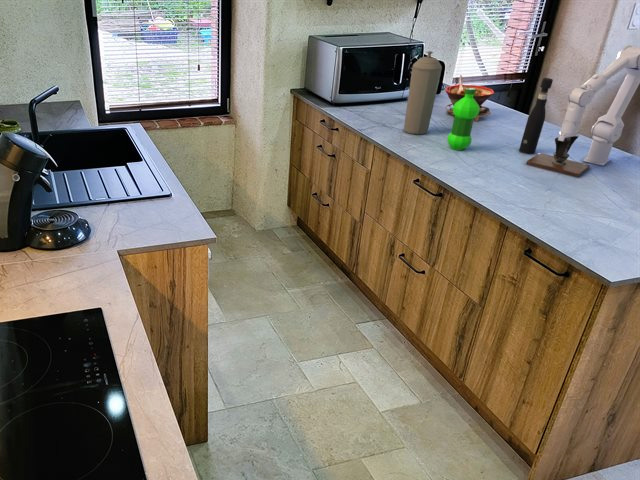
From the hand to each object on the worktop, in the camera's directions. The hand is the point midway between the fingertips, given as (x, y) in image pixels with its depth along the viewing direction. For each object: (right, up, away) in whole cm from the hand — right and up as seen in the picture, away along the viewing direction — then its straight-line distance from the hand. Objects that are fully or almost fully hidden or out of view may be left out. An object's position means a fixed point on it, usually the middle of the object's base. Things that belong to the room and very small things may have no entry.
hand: (561, 154), depth 236 cm
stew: (-14, +37, +66) cm, 77 cm away
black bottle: (-5, +5, +17) cm, 19 cm away
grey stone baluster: (0, -3, +2) cm, 4 cm away
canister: (-47, +20, +39) cm, 64 cm away
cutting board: (0, -4, +3) cm, 5 cm away
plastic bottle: (-34, +7, +20) cm, 40 cm away
